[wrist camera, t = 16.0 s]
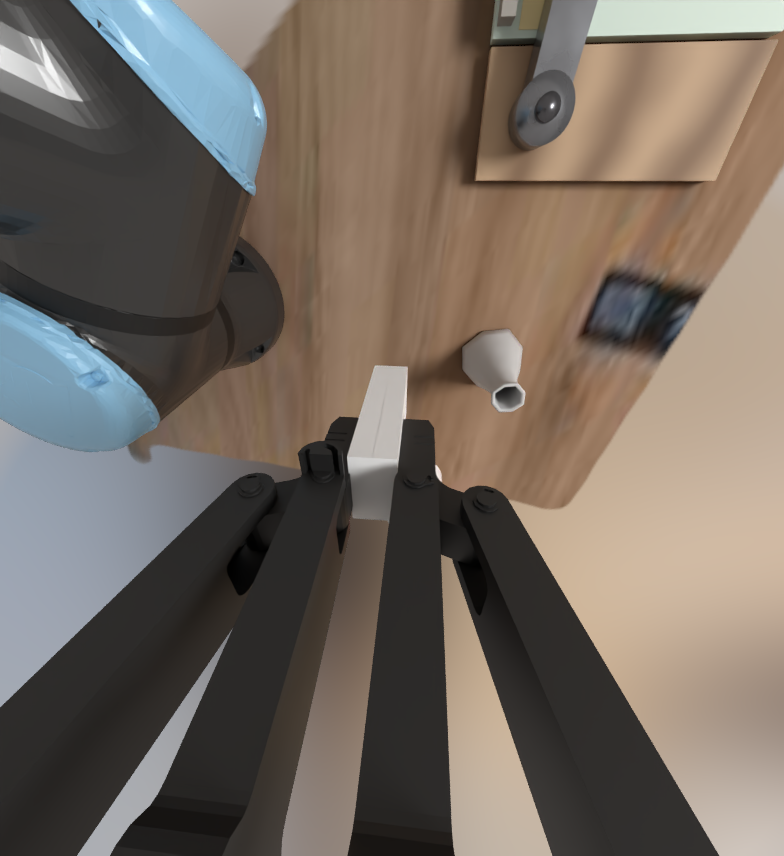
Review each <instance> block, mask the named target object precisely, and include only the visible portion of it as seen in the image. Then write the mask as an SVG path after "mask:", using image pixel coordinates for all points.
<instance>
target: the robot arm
mask: <svg viewBox="0 0 784 856" xmlns="http://www.w3.org/2000/svg"><path fill="white" fill-rule="evenodd" d="M266 131H267V120H266V112H265V108H264V104H263V102H262V99H261V96H260V94H259V92H258V90H257V88H256V87H255V85H254V84H253V82H252V81H251V80H250V78H249V77H248V76H247V75H246V74H245V73H244V71H243V70H242V69H241V68H240V67H239V66H238V65H237V64H236V63H235V62H234V61H233V60H232V59H231V58H230V57H229V56H228V55H227V54H226V53H225V52H224V51H223V50H222V49H221V48H220V47H219V46H218V45H217V44H216V43H215V42H214V41H213V40H212V39H211V38H210V37H209V36H208V35H207V34H206V33H205V32H204V31H203V30H202V29H201V28H200V27H199V26H198V25H197V24H196V23H195V22H194V21H193V20H191V19H190V18H189V17H188V16H187V15H186V14H185V13H184V12H183V11H182V10H181V9H180V8H179V7H178V6H177V5H176V4H175V3H174V2H173V1H172V0H0V419H2V420H3V421H5V422H7V423H9V424H10V425H12V426H14V427H16V428H17V429H19V430H21V431H23V432H25V433H27V434H29V435H31V436H34V437H36V438H38V439H41V440H43V441H46V442H48V443H51V444H54V445H57V446H60V447H64V448H68V449H72V450H77V451H84V452H98V451H113V450H117V449H120V448H122V447H125V446H127V445H128V444H130V443H132V442H133V441H135V440H136V439H137V438H139V437H140V436H142V435H144V434H145V433H147V432H149V431H152V430H153V429H155V428H156V427H157V426H158V423H159V422H160V421H161V420H163V419H164V418H165V417H166V416H167V415H168V414H170V413H171V412H172V411H173V410H174V409H176V408H177V407H178V406H179V405H180V404H181V403H183V402H184V401H185V400H186V399H187V398H188V397H190V396H191V395H192V394H193V393H194V392H196V391H197V390H198V389H199V388H200V387H201V386H203V385H204V384H205V383H206V382H207V381H208V380H210V379H211V378H212V377H213V376H214V375H216V374H217V373H218V372H219V371H221V370H225V369H230V368H235V367H240V366H244V365H248V364H250V363H252V362H254V361H256V360H258V359H259V358H261V357H262V356H263V355H264V354H266V353H267V352H268V351H269V350H270V349H271V348H272V347H273V346H274V344H275V343H276V341H277V340H278V338H279V336H280V334H281V331H282V327H283V322H284V304H283V298H282V294H281V290H280V288H279V285H278V282H277V280H276V278H275V276H274V274H273V272H272V271H271V269H270V267H269V266H268V264H267V263H266V262H265V260H264V259H263V258H262V256H261V255H260V254H259V253H258V252H257V251H256V250H255V249H254V248H253V247H252V246H251V245H250V244H249V243H247V242H246V241H245V240H244V239H242V238H241V237H239V234H240V231H241V228H242V224H243V221H244V218H245V215H246V212H247V208H248V205H249V202H250V199H251V196H255V193H256V186H255V183H254V182H255V177H256V173H257V169H258V165H259V161H260V156H261V152H262V148H263V144H264V140H265V136H266ZM407 369H408V367H402V366H377V365H375V367H374V370H373V374H372V377H371V380H370V383H369V387H368V390H367V393H366V396H365V400H364V403H363V406H362V409H361V413H360V416H359V418H354V417H339V418H338V419H336V420H335V421H334V422H333V423H332V424H331V426H330V428H329V431H328V434H327V435H326V438H325V440H324V441H317V442H313V443H310V444H308V445H306V446H304V447H303V448H302V449H301V450H300V451H299V452H298V456H299V461H300V466H301V471H302V475H301V477H299V478H297V479H293V480H290V481H283V482H279V483H275V482H274V480H273V479H272V477H271V476H269V475H267V474H263V473H254V474H248V475H246V476H243V477H241V478H239V479H238V480H236V481H235V482H234V483H232V484H231V485H230V486H229V487H228V488H227V489H226V490H225V491H224V492H223V493H222V494H221V495H220V496H219V497H218V498H217V499H216V500H215V501H214V502H213V503H212V504H210V505H209V506H208V507H207V508H206V509H205V510H204V511H203V512H202V513H201V514H200V515H199V516H198V517H197V518H196V519H195V520H194V521H193V522H192V523H191V524H190V525H189V526H188V527H187V528H186V529H185V530H184V531H183V532H182V533H181V534H180V535H179V536H177V537H176V538H175V539H174V540H173V541H172V542H171V543H170V544H169V545H168V546H167V547H166V548H165V549H164V550H163V551H162V552H161V553H160V554H159V555H158V556H157V557H156V558H155V559H154V560H153V561H151V562H150V564H148V565H147V566H146V567H145V568H144V569H143V570H142V571H141V572H140V573H139V574H138V575H137V576H136V577H135V578H134V579H133V580H132V581H131V582H130V583H129V584H128V585H127V586H126V587H125V588H123V589H122V591H120V593H118V594H117V595H116V596H115V597H114V598H113V599H112V600H111V601H110V602H109V603H108V604H107V605H106V606H105V607H104V608H103V609H102V610H101V611H100V612H99V613H98V614H97V615H96V616H95V617H93V618H92V619H91V620H90V621H89V622H88V623H87V624H86V625H85V626H84V627H83V628H82V629H81V630H80V631H79V632H78V633H77V634H76V635H75V636H74V637H73V638H72V639H71V640H70V641H69V642H68V643H67V644H65V645H64V646H63V647H62V648H61V649H60V650H59V651H58V652H57V653H56V654H55V655H54V656H53V657H52V658H51V659H50V660H49V661H48V662H47V663H46V664H45V665H44V666H43V667H42V668H41V669H40V670H39V671H38V672H37V673H35V674H34V676H32V677H31V678H30V679H29V680H28V681H27V682H26V683H25V684H24V685H23V686H22V687H21V688H20V689H19V690H18V691H17V692H16V693H15V694H14V695H13V696H12V697H11V698H10V699H9V700H8V701H6V703H4V704H3V705H2V706H1V707H0V856H77V855H78V853H79V852H80V850H81V849H82V847H83V846H84V844H85V843H86V842H87V840H88V838H89V837H90V836H91V834H92V833H93V831H94V830H95V828H96V827H97V826H98V824H99V823H100V821H101V820H102V818H103V817H104V815H105V814H106V812H107V811H108V809H109V808H110V807H111V805H112V804H113V802H114V801H115V799H116V798H117V796H118V795H119V793H120V792H121V790H122V789H123V787H124V786H125V785H126V783H127V781H128V780H129V779H130V777H131V776H132V774H133V773H134V771H135V770H136V769H137V767H138V766H139V764H140V762H141V761H142V760H143V758H144V757H145V755H146V754H147V752H148V751H149V750H150V748H151V747H152V745H153V744H154V742H155V740H156V739H157V738H158V736H159V735H160V733H161V732H162V731H163V729H164V728H165V726H166V725H167V723H168V722H169V720H170V719H171V717H172V716H173V714H174V713H175V711H176V710H177V709H178V707H179V706H180V704H181V703H182V701H183V700H184V698H185V697H186V695H187V694H188V693H189V691H190V690H191V688H192V687H193V685H194V684H195V682H196V681H197V679H198V678H199V676H200V675H201V673H202V672H203V670H204V669H205V668H206V666H207V665H208V663H209V662H210V660H211V659H212V657H213V656H214V655H215V653H216V652H217V650H218V649H219V647H220V646H221V644H222V643H223V641H224V640H225V639H226V637H227V635H228V634H229V633H230V631H231V630H232V632H231V634H230V636H229V638H228V641H227V643H226V645H225V647H224V649H223V652H222V654H221V656H220V658H219V661H218V663H217V665H216V667H215V670H214V672H213V674H212V677H211V679H210V681H209V683H208V685H207V688H206V690H205V692H204V694H203V696H202V699H201V701H200V703H199V705H198V708H197V710H196V712H195V714H194V717H193V719H192V721H191V723H190V726H189V728H188V730H187V732H186V734H185V737H184V739H183V741H182V743H181V746H180V748H179V750H178V753H177V755H176V757H175V759H174V761H173V763H172V766H171V768H170V770H169V773H168V775H167V777H166V779H165V781H164V783H163V785H162V787H161V789H160V791H159V793H158V795H157V796H156V798H155V799H154V801H153V802H152V804H151V805H150V806H149V807H148V808H147V809H146V810H145V811H144V812H143V813H142V814H141V815H140V816H139V817H138V818H137V819H136V820H135V821H134V822H133V823H132V824H131V825H130V826H129V827H128V829H127V830H126V832H125V833H124V834H123V836H122V837H121V839H120V840H119V842H118V843H117V844H116V846H115V848H114V849H113V851H112V853H111V855H110V856H281V847H282V836H283V829H284V824H285V819H286V815H287V810H288V806H289V801H290V797H291V793H292V788H293V784H294V779H295V775H296V770H297V766H298V761H299V757H300V753H301V748H302V744H303V739H304V734H305V730H306V725H307V721H308V717H309V712H310V708H311V704H312V699H313V694H314V690H315V686H316V681H317V677H318V672H319V668H320V663H321V659H322V655H323V650H324V646H325V641H326V637H327V632H328V628H329V623H330V619H331V614H332V610H333V606H334V601H335V596H336V592H337V588H338V583H339V579H340V574H341V570H342V566H343V561H344V557H345V552H346V548H347V543H348V538H349V534H350V521H349V520H350V515H351V511H352V515H353V518H359V519H374V520H387V521H389V528H388V536H387V545H386V553H385V562H384V570H383V579H382V587H381V596H380V604H379V613H378V622H377V630H376V639H375V647H374V656H373V665H372V673H371V681H370V690H369V698H368V707H367V716H366V724H365V733H364V741H363V750H362V758H361V767H360V775H359V776H360V777H359V784H358V792H357V801H356V809H355V817H354V824H353V831H352V836H351V841H350V846H349V851H348V856H455V855H454V848H453V839H452V825H451V804H450V803H451V802H450V776H449V751H448V726H447V703H446V702H447V701H446V677H445V676H446V675H445V650H444V624H443V598H442V573H441V555H444V556H447V557H449V558H452V559H453V564H454V567H455V569H456V572H457V575H458V578H459V581H460V584H461V587H462V590H463V593H464V596H465V599H466V602H467V605H468V608H469V611H470V614H471V617H472V620H473V623H474V625H475V628H476V631H477V634H478V637H479V640H480V643H481V646H482V649H483V652H484V655H485V658H486V661H487V664H488V667H489V670H490V673H491V676H492V679H493V682H494V685H495V687H496V690H497V693H498V696H499V699H500V702H501V705H502V708H503V711H504V713H505V717H506V720H507V723H508V725H509V729H510V731H511V734H512V738H513V740H514V743H515V746H516V749H517V752H518V755H519V758H520V761H521V764H522V767H523V770H524V773H525V776H526V779H527V782H528V785H529V788H530V791H531V793H532V797H533V799H534V802H535V805H536V808H537V811H538V814H539V817H540V820H541V823H542V826H543V829H544V832H545V835H546V838H547V841H548V844H549V847H550V850H551V853H552V856H719V855H718V853H717V851H716V850H715V848H714V846H713V845H712V843H711V841H710V840H709V838H708V836H707V834H706V833H705V831H704V830H703V828H702V826H701V824H700V823H699V821H698V819H697V818H696V816H695V814H694V812H693V811H692V809H691V807H690V806H689V804H688V802H687V801H686V799H685V797H684V796H683V794H682V792H681V791H680V789H679V787H678V785H677V784H676V782H675V780H674V779H673V777H672V775H671V774H670V772H669V770H668V769H667V767H666V765H665V764H664V762H663V760H662V759H661V757H660V755H659V753H658V752H657V750H656V748H655V747H654V745H653V743H652V742H651V740H650V738H649V737H648V735H647V733H646V732H645V730H644V728H643V726H642V725H641V723H640V721H639V720H638V718H637V716H636V715H635V713H634V711H633V710H632V708H631V706H630V705H629V703H628V701H627V700H626V698H625V696H624V695H623V693H622V691H621V689H620V688H619V686H618V684H617V683H616V681H615V679H614V678H613V676H612V674H611V673H610V671H609V669H608V667H607V666H606V664H605V662H604V661H603V659H602V657H601V656H600V654H599V652H598V651H597V649H596V647H595V646H594V644H593V642H592V640H591V639H590V637H589V635H588V634H587V632H586V630H585V629H584V627H583V625H582V624H581V622H580V620H579V619H578V617H577V615H576V614H575V612H574V610H573V609H572V607H571V605H570V603H569V602H568V600H567V598H566V597H565V595H564V593H563V592H562V590H561V588H560V587H559V585H558V583H557V582H556V580H555V578H554V576H553V575H552V573H551V571H550V570H549V568H548V566H547V565H546V563H545V561H544V560H543V558H542V556H541V555H540V553H539V551H538V549H537V548H536V546H535V544H534V543H533V541H532V539H531V538H530V536H529V535H528V533H527V531H526V529H525V528H524V526H523V524H522V523H521V521H520V519H519V517H518V516H517V514H516V513H515V511H514V509H513V507H512V506H511V504H510V502H509V501H508V499H507V498H506V497H505V496H504V495H503V493H501V492H499V491H498V490H496V489H494V488H491V487H488V486H475V487H471V488H469V489H468V490H466V491H465V492H464V493H463V492H460V491H457V490H454V489H451V488H449V487H447V486H446V485H444V484H443V483H442V482H441V481H440V480H439V479H438V477H437V475H436V468H435V440H434V427H433V426H432V425H431V423H430V422H429V420H412V419H406V399H407ZM232 628H233V629H232Z"/></svg>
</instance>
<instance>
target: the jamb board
mask: <svg viewBox="0 0 784 856" xmlns="http://www.w3.org/2000/svg"><path fill="white" fill-rule="evenodd" d="M777 42H778V40H746V41H706V42H666V43H626V44H586V45H584V48H583V51H582V54H581V58H580V61H579V64H578V68H577V71H576V74H575V77H574V81H573V85H574V88H575V97H576V99H575V107H574V111H573V115H572V117H571V120H570V122H569V124H568V125H567V127H566V128H565V130H564V131H563V132H562V133H561V135H559V136H558V137H557V138H556V139H555V140H553V141H552V142H550V143H548V144H546V145H543V146H541V147H539V148H537V149H534V150H529V151H527V150H522V149H519V148H518V147H517V146H515V145H514V143H513V142H512V140H511V138H510V136H509V131H508V118H509V114H510V110H511V108H512V105H513V103H514V101H515V100H516V98H517V97H518V96H519V94H520V93H521V92H522V91H523V87H524V83H525V79H526V75H527V71H528V67H529V63H530V58H531V54H532V50H533V46H506V47H491V49H490V52H489V58H488V66H487V75H486V84H485V92H484V101H483V109H482V118H481V126H480V135H479V143H478V152H477V160H476V169H475V178H474V181H715V180H716V178H717V176H718V174H719V171H720V169H721V167H722V165H723V162H724V160H725V158H726V156H727V154H728V151H729V149H730V147H731V145H732V142H733V140H734V138H735V136H736V134H737V131H738V129H739V127H740V125H741V122H742V120H743V118H744V116H745V114H746V111H747V109H748V107H749V105H750V102H751V100H752V98H753V96H754V94H755V91H756V89H757V87H758V85H759V82H760V80H761V78H762V76H763V74H764V71H765V69H766V67H767V65H768V62H769V60H770V58H771V56H772V54H773V51H774V49H775V47H776V45H777Z"/></svg>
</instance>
